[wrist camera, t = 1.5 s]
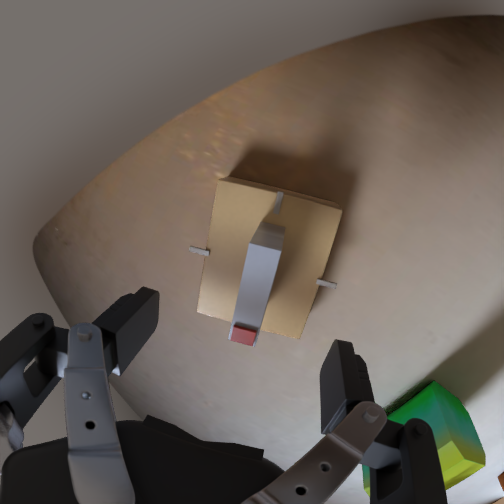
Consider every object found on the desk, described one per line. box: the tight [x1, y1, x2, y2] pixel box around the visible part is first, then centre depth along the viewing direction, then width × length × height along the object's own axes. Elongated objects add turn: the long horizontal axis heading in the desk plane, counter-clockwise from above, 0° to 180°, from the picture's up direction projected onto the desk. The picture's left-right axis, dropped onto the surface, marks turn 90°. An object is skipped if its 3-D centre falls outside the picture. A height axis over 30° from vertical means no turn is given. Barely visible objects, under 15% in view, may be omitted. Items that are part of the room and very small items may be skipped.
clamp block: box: [189, 176, 343, 339], centre depth 20 cm, size 10×10×3 cm
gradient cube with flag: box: [362, 381, 485, 497], centre depth 18 cm, size 11×10×15 cm
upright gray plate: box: [228, 221, 286, 347], centre depth 17 cm, size 6×2×5 cm, turn 168°
